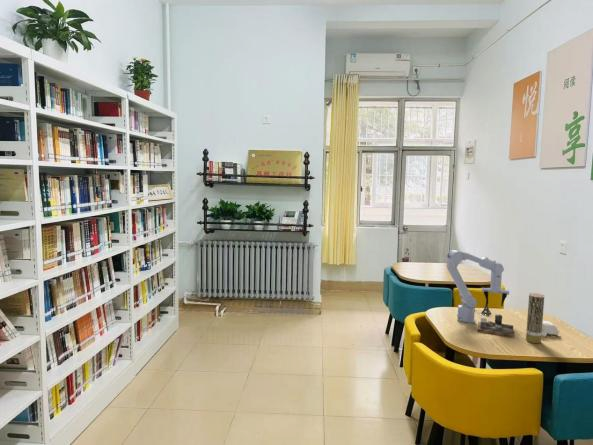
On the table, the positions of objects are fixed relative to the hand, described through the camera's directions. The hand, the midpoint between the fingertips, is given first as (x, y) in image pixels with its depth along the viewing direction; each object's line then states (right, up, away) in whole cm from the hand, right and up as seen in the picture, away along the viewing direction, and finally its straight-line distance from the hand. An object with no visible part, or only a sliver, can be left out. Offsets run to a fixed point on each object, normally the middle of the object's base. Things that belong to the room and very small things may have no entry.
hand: (494, 304), depth 239 cm
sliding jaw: (-6, -10, -15) cm, 19 cm away
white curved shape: (+18, -13, -18) cm, 28 cm away
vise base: (-7, -12, -15) cm, 20 cm away
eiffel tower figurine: (+2, -10, +17) cm, 20 cm away
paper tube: (+6, -13, -30) cm, 33 cm away
